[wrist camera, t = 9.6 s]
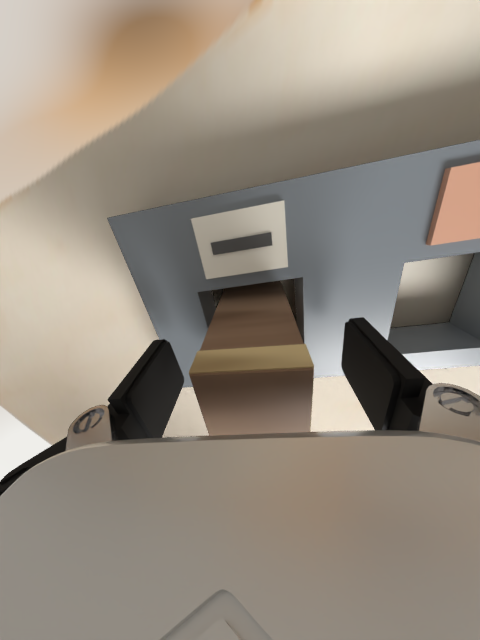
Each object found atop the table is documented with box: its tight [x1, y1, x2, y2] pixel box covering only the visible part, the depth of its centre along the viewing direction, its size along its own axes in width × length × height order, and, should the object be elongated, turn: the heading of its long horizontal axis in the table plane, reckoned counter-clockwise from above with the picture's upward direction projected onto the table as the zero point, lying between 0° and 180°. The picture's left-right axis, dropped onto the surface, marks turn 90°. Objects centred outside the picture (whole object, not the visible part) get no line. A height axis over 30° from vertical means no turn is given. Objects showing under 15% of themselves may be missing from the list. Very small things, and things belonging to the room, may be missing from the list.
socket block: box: [107, 140, 480, 388], centre depth 12 cm, size 12×24×3 cm, turn 100°
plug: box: [189, 281, 314, 436], centre depth 11 cm, size 4×4×9 cm
